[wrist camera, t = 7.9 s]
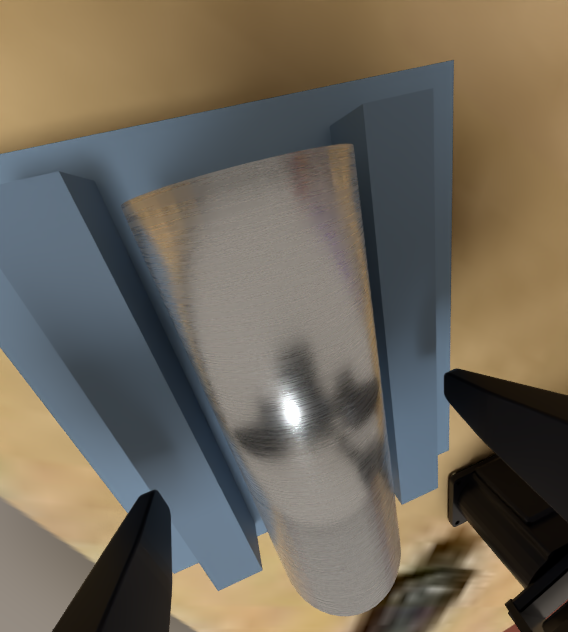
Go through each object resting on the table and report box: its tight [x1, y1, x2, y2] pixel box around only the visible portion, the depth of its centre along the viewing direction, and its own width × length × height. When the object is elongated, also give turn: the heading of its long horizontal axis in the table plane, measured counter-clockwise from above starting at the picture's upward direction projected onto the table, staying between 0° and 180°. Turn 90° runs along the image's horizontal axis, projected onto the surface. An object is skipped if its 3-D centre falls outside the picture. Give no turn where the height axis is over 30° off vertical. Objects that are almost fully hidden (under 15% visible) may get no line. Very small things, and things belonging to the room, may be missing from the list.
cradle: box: [0, 60, 454, 591], centre depth 12 cm, size 18×16×5 cm
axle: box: [121, 144, 401, 616], centre depth 9 cm, size 14×5×5 cm, turn 14°
